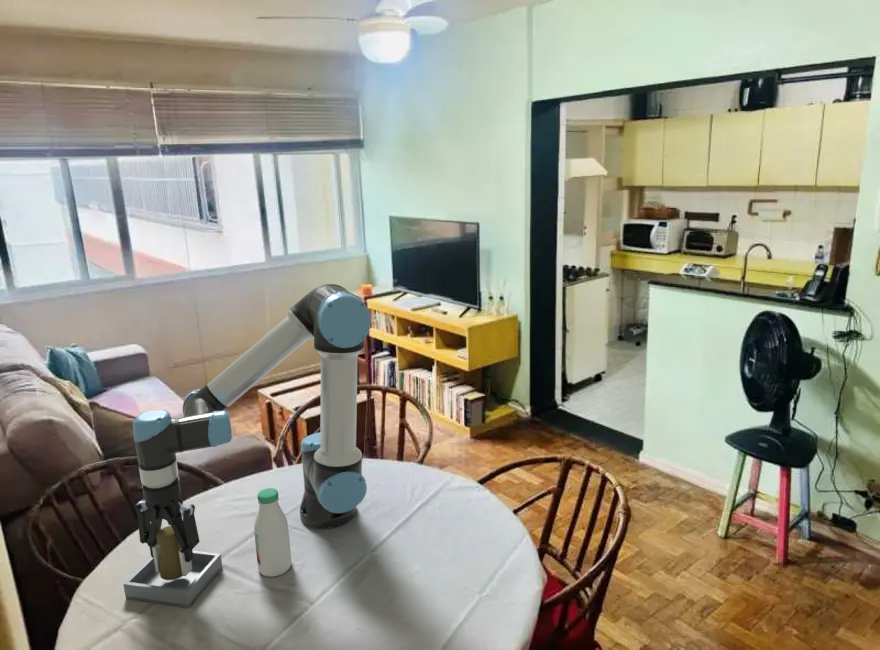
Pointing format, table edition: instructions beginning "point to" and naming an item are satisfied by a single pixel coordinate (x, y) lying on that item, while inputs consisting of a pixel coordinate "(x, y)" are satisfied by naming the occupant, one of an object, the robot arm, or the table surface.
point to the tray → (173, 582)
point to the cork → (169, 554)
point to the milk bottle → (271, 535)
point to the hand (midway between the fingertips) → (174, 570)
